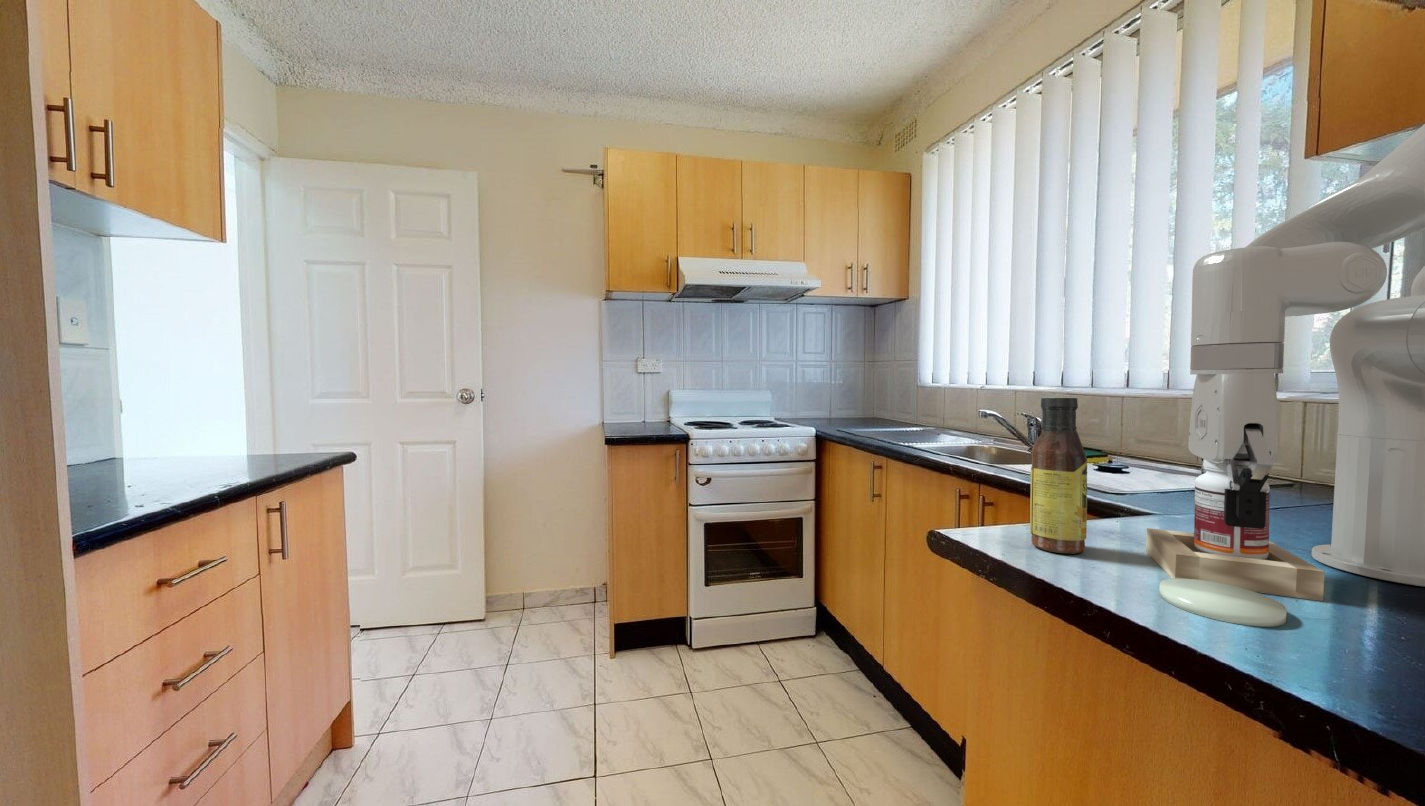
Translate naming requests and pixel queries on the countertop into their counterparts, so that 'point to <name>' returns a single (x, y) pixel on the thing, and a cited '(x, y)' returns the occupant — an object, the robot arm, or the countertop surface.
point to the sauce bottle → (1058, 480)
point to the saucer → (1223, 602)
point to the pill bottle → (1210, 518)
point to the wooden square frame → (1236, 567)
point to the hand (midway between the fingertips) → (1230, 517)
